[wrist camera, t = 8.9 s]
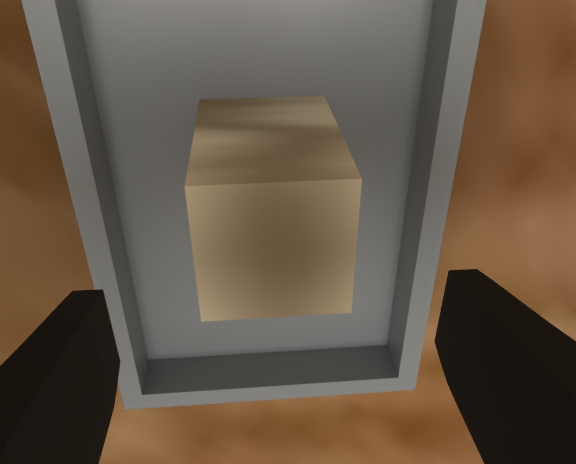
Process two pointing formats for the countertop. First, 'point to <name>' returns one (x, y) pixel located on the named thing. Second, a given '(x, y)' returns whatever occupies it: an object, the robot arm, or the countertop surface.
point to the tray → (175, 158)
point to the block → (271, 209)
